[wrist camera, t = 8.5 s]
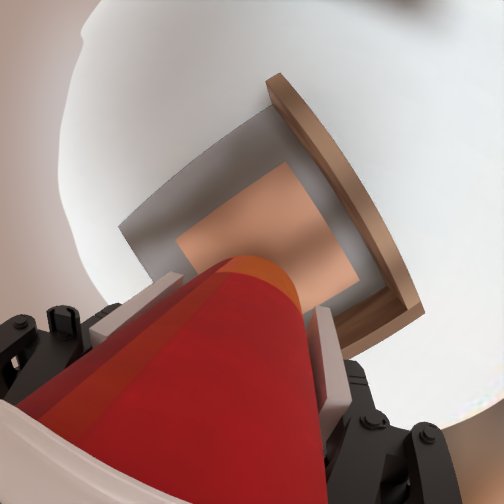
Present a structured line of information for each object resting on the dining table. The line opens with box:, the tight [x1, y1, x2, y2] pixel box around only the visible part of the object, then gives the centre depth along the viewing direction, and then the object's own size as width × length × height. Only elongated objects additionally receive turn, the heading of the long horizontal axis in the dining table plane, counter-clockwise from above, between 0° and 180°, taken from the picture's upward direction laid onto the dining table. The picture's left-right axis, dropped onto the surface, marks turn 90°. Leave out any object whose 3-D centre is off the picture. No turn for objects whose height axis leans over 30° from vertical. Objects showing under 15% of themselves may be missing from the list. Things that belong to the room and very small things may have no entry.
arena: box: [118, 73, 425, 360], centre depth 21 cm, size 20×20×6 cm
